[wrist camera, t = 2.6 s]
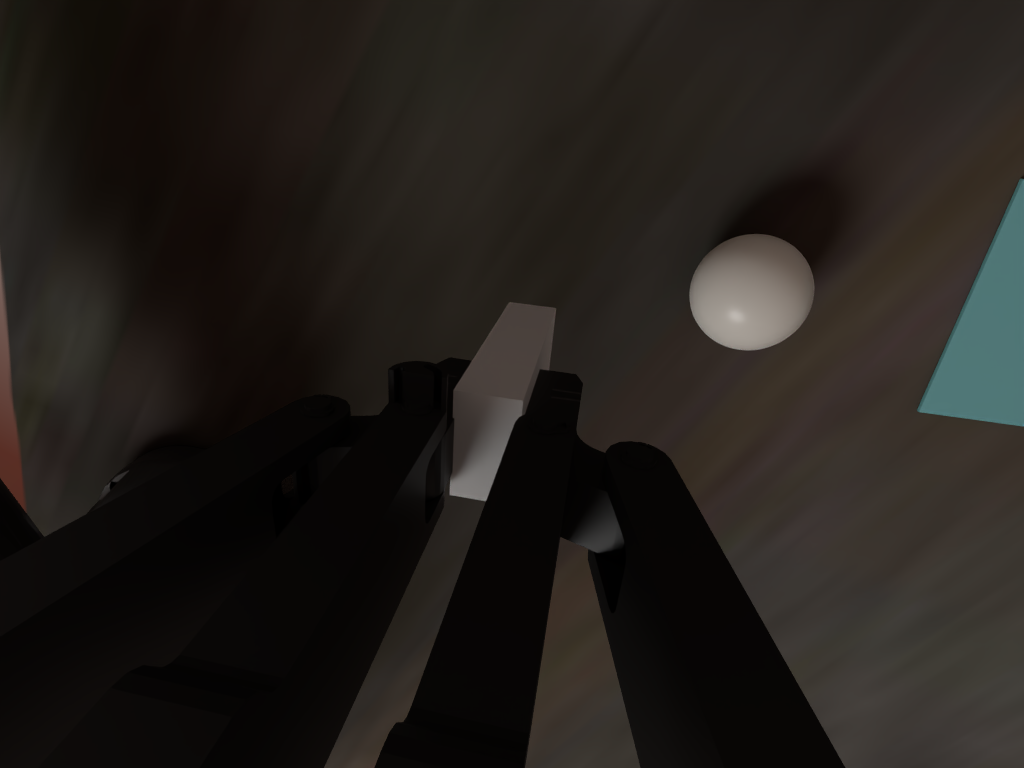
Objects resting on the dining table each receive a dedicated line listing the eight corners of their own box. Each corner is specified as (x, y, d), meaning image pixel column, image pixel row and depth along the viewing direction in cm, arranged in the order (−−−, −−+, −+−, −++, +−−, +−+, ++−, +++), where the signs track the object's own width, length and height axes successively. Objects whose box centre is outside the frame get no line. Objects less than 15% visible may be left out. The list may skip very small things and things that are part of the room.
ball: (674, 321, 31) (685, 359, 26) (696, 219, 28) (713, 239, 23) (777, 335, 30) (809, 375, 25) (808, 231, 28) (851, 253, 23)
